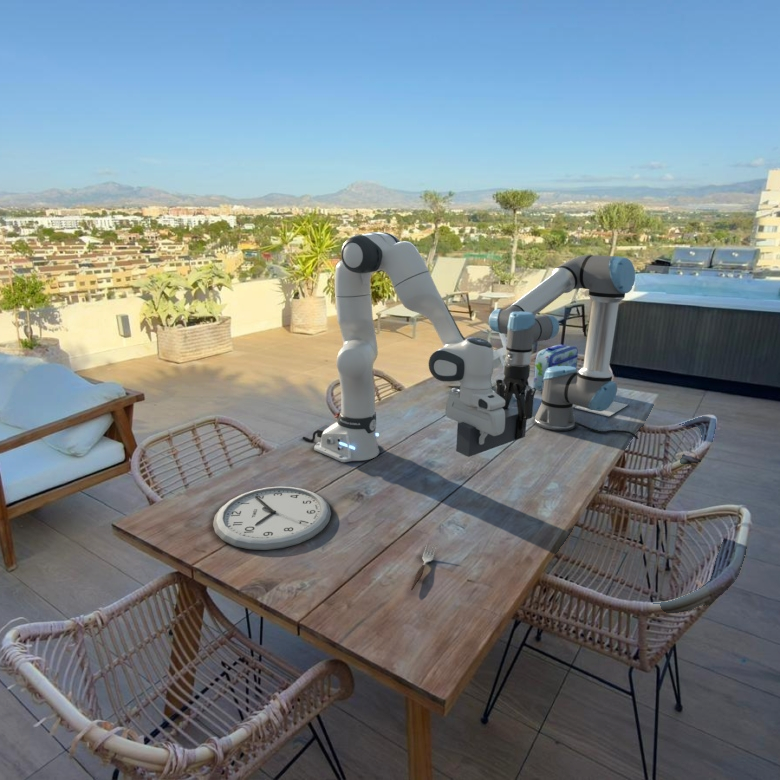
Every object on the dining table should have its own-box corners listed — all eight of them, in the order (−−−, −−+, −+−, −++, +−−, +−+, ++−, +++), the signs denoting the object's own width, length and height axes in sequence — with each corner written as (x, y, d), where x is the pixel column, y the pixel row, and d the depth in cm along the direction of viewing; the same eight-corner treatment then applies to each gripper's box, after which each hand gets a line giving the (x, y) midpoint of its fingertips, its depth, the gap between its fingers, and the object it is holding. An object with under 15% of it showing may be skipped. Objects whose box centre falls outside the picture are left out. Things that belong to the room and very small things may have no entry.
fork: (405, 590, 110) (405, 582, 109) (426, 549, 124) (426, 541, 123) (417, 593, 109) (417, 585, 108) (437, 551, 123) (437, 544, 122)
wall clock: (329, 541, 123) (198, 546, 121) (329, 547, 124) (199, 552, 121) (332, 482, 152) (226, 484, 149) (332, 487, 152) (226, 489, 150)
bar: (512, 431, 169) (514, 406, 166) (525, 436, 165) (527, 410, 162) (456, 451, 154) (457, 423, 151) (468, 457, 150) (470, 428, 147)
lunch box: (550, 397, 237) (555, 352, 231) (529, 391, 245) (533, 348, 238) (577, 386, 255) (582, 344, 249) (556, 381, 262) (561, 340, 256)
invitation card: (608, 416, 214) (573, 407, 224) (608, 416, 214) (573, 408, 224) (628, 404, 229) (594, 396, 238) (628, 405, 229) (594, 397, 238)
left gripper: (441, 388, 155) (439, 431, 159) (495, 406, 139) (491, 454, 143) (457, 384, 158) (454, 427, 162) (510, 402, 143) (506, 448, 147)
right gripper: (486, 359, 162) (481, 429, 169) (534, 372, 148) (526, 447, 155) (502, 356, 166) (496, 424, 173) (550, 368, 153) (542, 441, 160)
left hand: (472, 440), depth 153 cm, fingers closed on bar, 5 cm apart
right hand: (511, 435), depth 164 cm, fingers closed on bar, 5 cm apart
